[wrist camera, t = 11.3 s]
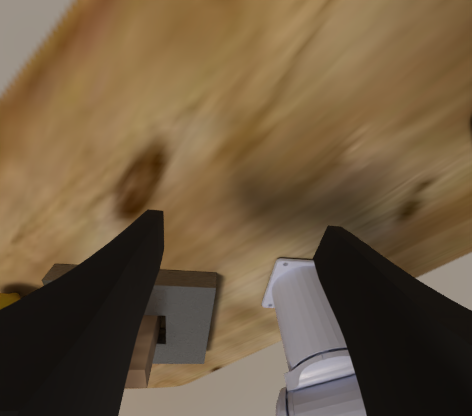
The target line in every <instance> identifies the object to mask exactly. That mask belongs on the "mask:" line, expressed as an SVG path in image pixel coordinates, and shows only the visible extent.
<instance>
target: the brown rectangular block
mask: <svg viewBox="0 0 472 416" xmlns="http://www.w3.org/2000/svg"><path fill="white" fill-rule="evenodd" d="M160 326H161V316H158V315H143V318H142V321H141V324H140V328H139V331H138V334H137V338H136V342H135V346H134V350H133V354H132V358H131V362H130V367H129V371H128V375H127V379H126V383H125V388H147V386H148V381H149V376H150V372H151V367H152V362H153V358H154V353H155V349H156V344H157V339H158V335H159V330H160Z"/></svg>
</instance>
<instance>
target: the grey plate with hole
mask: <svg viewBox="0 0 472 416" xmlns="http://www.w3.org/2000/svg"><path fill="white" fill-rule="evenodd" d="M76 266H78V265H68V264H54V265H53V267H52V268H51V269H50V270H49V272H48V273H47V274H46V275H45V277H44V278H43V279H42V282H43V284H44V286H45V285H47V284H48V283H50V282H52V281H54V280H55V279H57V278H59V277H60V276H62V275H64V274H65V273H67V272H68V271H70V270H71V269H73V268H75V267H76ZM215 292H216V273H212V272H194V271H176V270H159V273H158V275H157V278H156V281H155V284H154V287H153V290H152V293H151V296H150V298H149V301H148V304H147V307H146V310H145V313H144V315H158V316H166V328H160V330H159V335H158V339H157V344H156V349H155V353H154V358H153V362H152V364H204V360H205V353H206V347H207V341H208V335H209V329H210V323H211V316H212V310H213V304H214V298H215Z"/></svg>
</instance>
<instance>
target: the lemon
mask: <svg viewBox="0 0 472 416" xmlns="http://www.w3.org/2000/svg"><path fill="white" fill-rule="evenodd" d="M18 300H20V296H19V294H18V293H10V294H6V293H0V309H2V308H4V307H6V306H8V305H10V304H12V303H14V302H16V301H18Z"/></svg>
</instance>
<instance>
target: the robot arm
mask: <svg viewBox="0 0 472 416" xmlns="http://www.w3.org/2000/svg"><path fill="white" fill-rule="evenodd" d="M163 251H164V218H163V211H159V210H147V211H145V212H144V213H143V214H142V215H141V216H140V217H139V218H137V219H136V220H135V221H134V222H133V223H132V224H131V225H130V226H128V227H127V228H126V229H125V230H124V231H123V232H121V233H120V234H119V235H118V236H117V237H115V238H114V239H113V240H112V241H110V242H109V243H108V244H107V245H105V246H104V247H103V248H101V249H100V250H99V251H97V252H96V253H95V254H93V255H92V256H91V257H89V258H88V259H86V260H85V261H84V262H82V263H81V264H79V265H78V266H76V267H75V268H73V269H71V270H70V271H68V272H67V273H65V274H64V275H62V276H60V277H59V278H57V279H55V280H54V281H52V282H50V283H48V284H47V285H45V286H43V287H41V288H39V289H38V290H36V291H34V292H32V293H30V294H29V295H27V296H25V297H23V298H21V299H20V300H18V301H16V302H14V303H12V304H10V305H8V306H6V307H4V308H2V309H0V416H118V414H119V410H120V405H121V401H122V396H123V392H124V388H125V383H126V379H127V375H128V371H129V367H130V362H131V358H132V354H133V350H134V346H135V342H136V338H137V334H138V331H139V328H140V324H141V321H142V318H143V315H144V313H145V310H146V307H147V304H148V301H149V298H150V296H151V293H152V290H153V287H154V284H155V281H156V278H157V275H158V273H159V269H160V265H161V261H162V256H163ZM262 306H263V307H265V308H275V311H276V315H277V320H278V324H279V328H280V333H281V337H282V342H283V346H284V350H285V355H286V359H287V364H288V368H289V372H287V373H284V377H285V381H286V387H284V388H282V389H281V390H280V393H279V397H278V400H277V403H276V416H472V311H471V310H469V309H467V308H465V307H463V306H461V305H460V304H458V303H456V302H454V301H452V300H451V299H449V298H447V297H445V296H444V295H442V294H440V293H438V292H437V291H435V290H434V289H432V288H430V287H428V286H427V285H425V284H424V283H422V282H420V281H419V280H417V279H416V278H414V277H413V276H411V275H410V274H408V273H407V272H405V271H404V270H402V269H401V268H399V267H398V266H396V265H395V264H393V263H392V262H390V261H389V260H388V259H386V258H385V257H383V256H382V255H381V254H379V253H378V252H376V251H375V250H374V249H372V248H371V247H370V246H368V245H367V244H365V243H364V242H363V241H361V240H360V239H359V238H357V237H356V236H354V235H353V234H351V233H350V232H348V231H347V230H345V229H344V228H342V227H339V226H328V227H327V229H326V231H325V233H324V235H323V238H322V240H321V242H320V244H319V246H318V249H317V251H316V253H315V255H314V257H313V260H300V259H285V258H279V259H277V260H276V262H275V265H274V268H273V271H272V274H271V277H270V280H269V283H268V286H267V289H266V291H265V294H264V297H263V300H262Z"/></svg>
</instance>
